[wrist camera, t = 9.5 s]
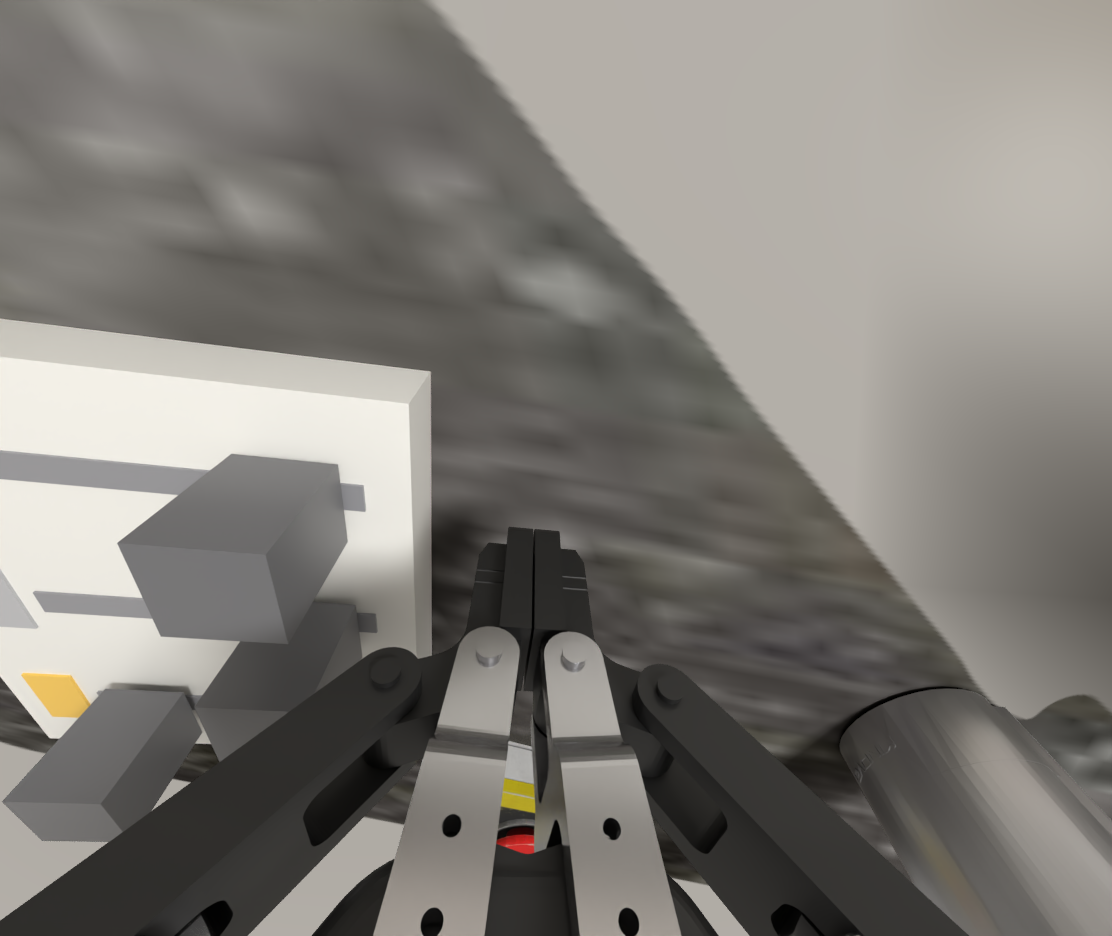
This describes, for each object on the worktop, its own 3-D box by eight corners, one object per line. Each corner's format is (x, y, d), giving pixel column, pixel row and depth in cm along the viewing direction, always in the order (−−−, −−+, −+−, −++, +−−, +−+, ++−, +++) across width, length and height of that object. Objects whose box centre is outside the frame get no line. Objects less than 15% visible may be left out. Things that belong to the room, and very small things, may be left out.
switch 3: (355, 604, 16) (305, 712, 13) (362, 657, 17) (318, 766, 14) (269, 598, 16) (193, 707, 12) (284, 652, 17) (219, 762, 14)
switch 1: (183, 692, 18) (100, 803, 15) (202, 732, 20) (131, 841, 16) (105, 688, 18) (1, 801, 14) (130, 729, 19) (42, 840, 16)
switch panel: (430, 371, 15) (407, 405, 13) (431, 695, 25) (419, 753, 22) (-125, 303, 14) (-288, 325, 11) (104, 678, 23) (47, 740, 20)
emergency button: (449, 805, 23) (677, 849, 27) (461, 721, 27) (660, 771, 31) (395, 869, 27) (600, 899, 31) (413, 788, 31) (594, 824, 35)
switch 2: (338, 464, 13) (265, 554, 10) (347, 541, 14) (288, 644, 11) (231, 453, 13) (117, 543, 9) (252, 534, 14) (161, 636, 11)
